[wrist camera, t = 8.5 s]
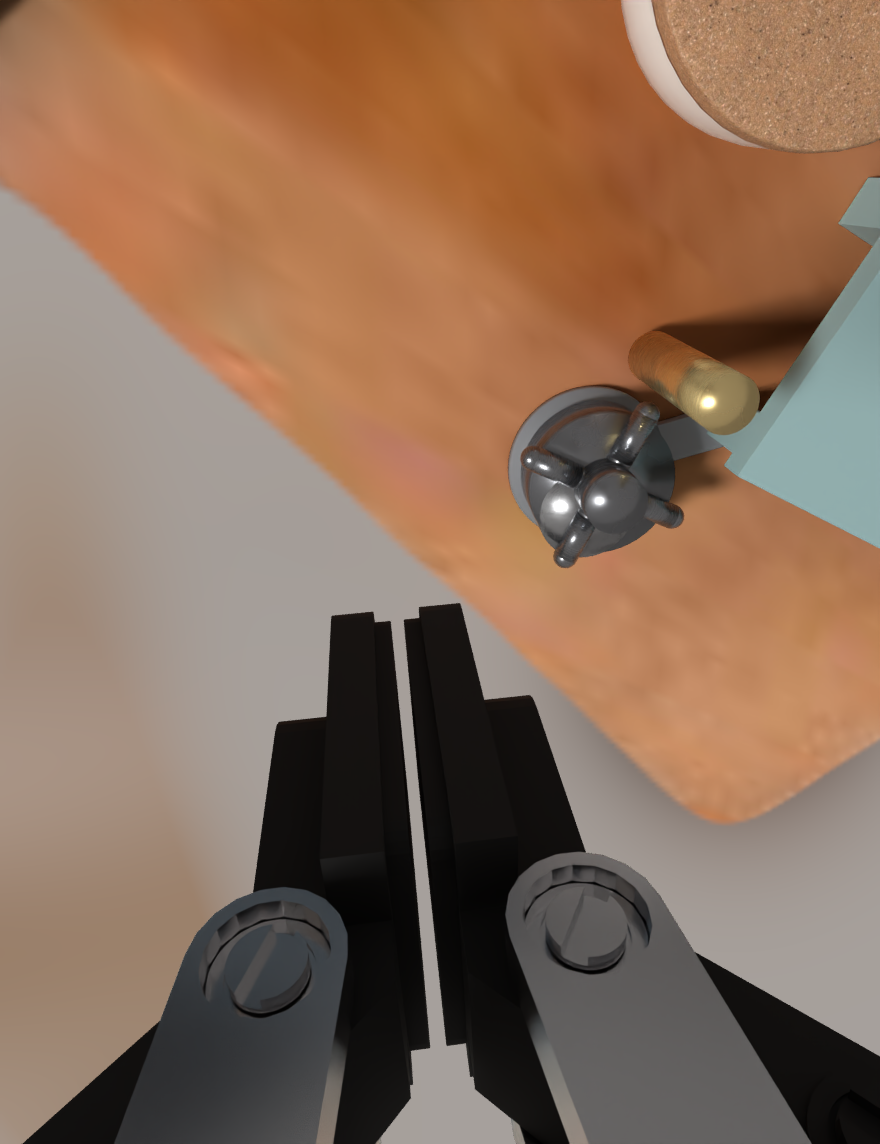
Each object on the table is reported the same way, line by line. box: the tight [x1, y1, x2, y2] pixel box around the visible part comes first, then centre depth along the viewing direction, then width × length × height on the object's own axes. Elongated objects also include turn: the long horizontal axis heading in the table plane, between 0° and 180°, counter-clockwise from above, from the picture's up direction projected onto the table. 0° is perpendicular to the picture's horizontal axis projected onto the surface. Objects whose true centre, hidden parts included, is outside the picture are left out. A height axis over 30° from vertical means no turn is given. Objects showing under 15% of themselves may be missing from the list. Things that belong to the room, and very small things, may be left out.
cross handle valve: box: [520, 331, 760, 568], centre depth 30 cm, size 10×8×7 cm
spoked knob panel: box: [508, 177, 880, 548], centre depth 32 cm, size 22×18×5 cm
